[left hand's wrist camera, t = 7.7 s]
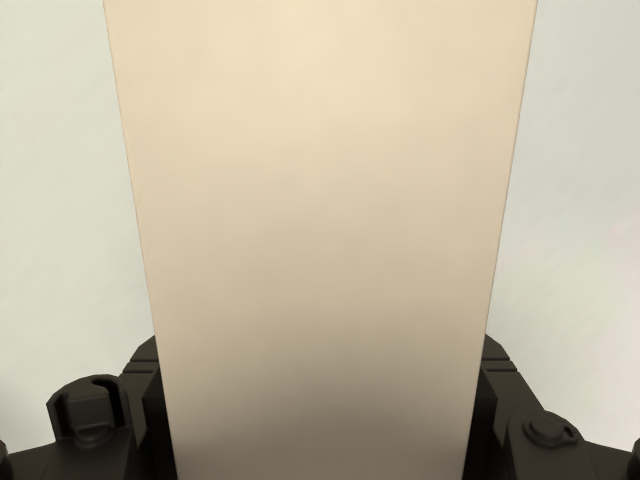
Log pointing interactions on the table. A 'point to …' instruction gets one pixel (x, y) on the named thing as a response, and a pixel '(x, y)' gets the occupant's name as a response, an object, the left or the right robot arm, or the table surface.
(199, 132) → the beam
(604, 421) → the table surface
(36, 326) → the table surface
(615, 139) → the table surface
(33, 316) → the table surface
